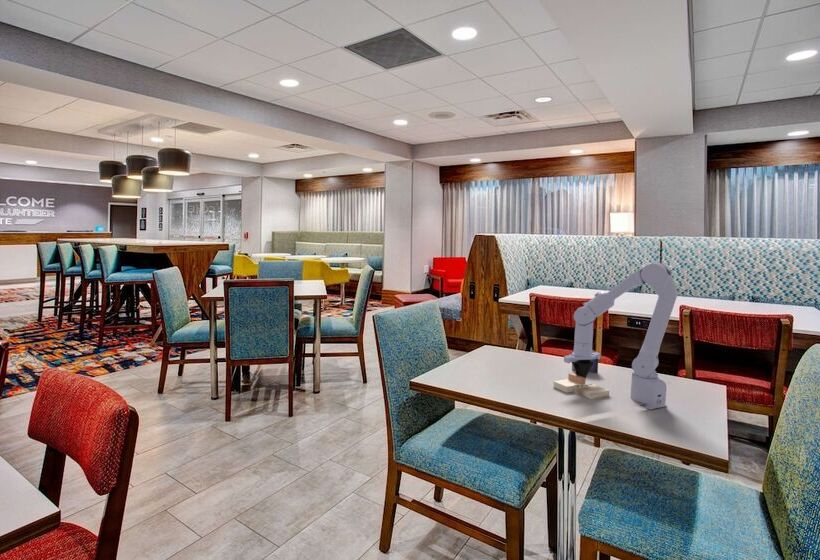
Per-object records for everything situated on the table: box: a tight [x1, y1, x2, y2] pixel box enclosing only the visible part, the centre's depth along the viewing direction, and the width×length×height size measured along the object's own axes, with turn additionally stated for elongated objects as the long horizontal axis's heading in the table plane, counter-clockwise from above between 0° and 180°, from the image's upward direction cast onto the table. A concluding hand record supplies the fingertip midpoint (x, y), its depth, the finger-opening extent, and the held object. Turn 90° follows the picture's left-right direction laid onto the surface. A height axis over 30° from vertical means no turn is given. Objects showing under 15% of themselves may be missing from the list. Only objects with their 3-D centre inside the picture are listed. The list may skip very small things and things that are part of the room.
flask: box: [571, 349, 599, 374], centre depth 173 cm, size 9×3×11 cm, turn 65°
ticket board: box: [573, 383, 610, 400], centre depth 149 cm, size 16×20×3 cm
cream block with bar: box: [553, 372, 587, 394], centre depth 153 cm, size 6×8×4 cm
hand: (581, 381), depth 155 cm, fingers closed
